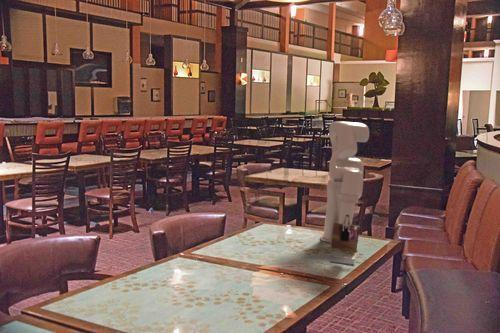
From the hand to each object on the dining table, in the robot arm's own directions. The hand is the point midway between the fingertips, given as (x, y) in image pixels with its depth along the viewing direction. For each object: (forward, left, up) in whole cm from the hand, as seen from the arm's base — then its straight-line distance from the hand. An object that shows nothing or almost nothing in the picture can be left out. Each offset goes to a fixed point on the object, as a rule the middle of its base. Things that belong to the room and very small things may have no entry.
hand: (345, 238), depth 224 cm
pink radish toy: (0, +1, -1) cm, 1 cm away
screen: (-20, 0, -10) cm, 23 cm away
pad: (0, 0, -10) cm, 10 cm away
